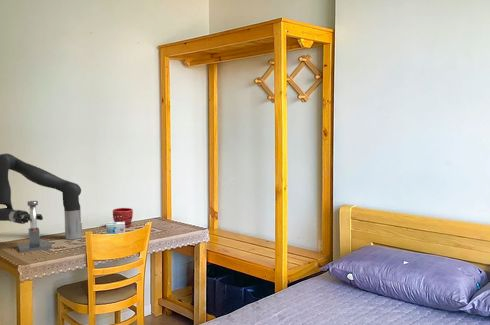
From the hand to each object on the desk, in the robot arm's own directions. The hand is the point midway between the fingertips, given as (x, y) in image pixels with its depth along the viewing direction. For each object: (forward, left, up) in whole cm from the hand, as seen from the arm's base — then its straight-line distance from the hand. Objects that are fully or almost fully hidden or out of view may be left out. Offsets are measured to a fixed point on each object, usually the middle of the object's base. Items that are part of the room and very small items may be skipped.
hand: (34, 219), depth 257 cm
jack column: (+1, -1, -14) cm, 14 cm away
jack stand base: (+1, -1, -16) cm, 16 cm away
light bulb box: (-42, +9, -16) cm, 46 cm away
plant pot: (-57, -29, -16) cm, 66 cm away
